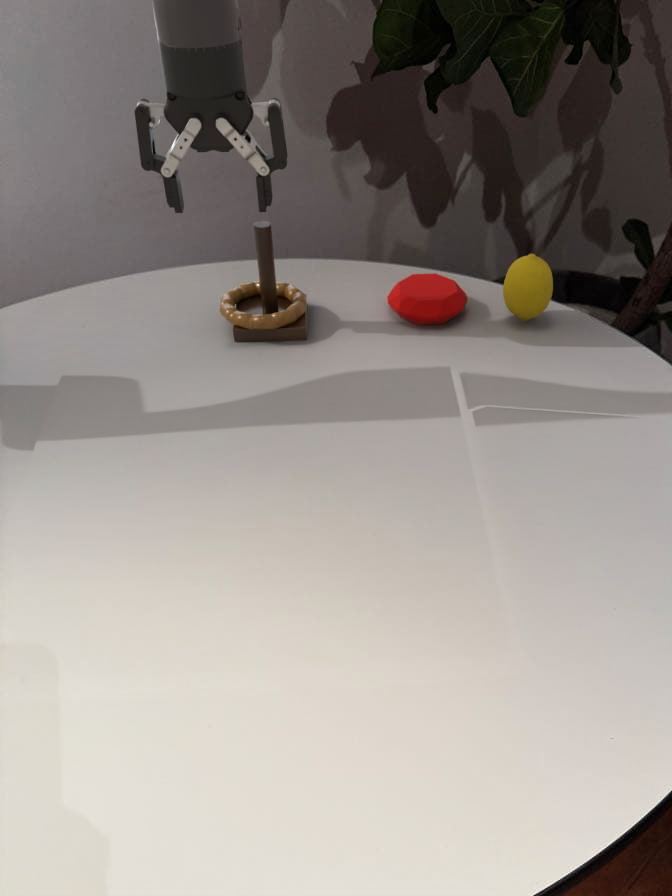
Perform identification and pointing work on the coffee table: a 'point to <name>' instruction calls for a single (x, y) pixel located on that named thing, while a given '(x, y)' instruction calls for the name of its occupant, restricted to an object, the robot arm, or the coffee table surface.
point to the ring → (262, 319)
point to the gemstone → (427, 298)
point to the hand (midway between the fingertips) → (221, 209)
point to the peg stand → (268, 296)
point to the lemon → (528, 287)
